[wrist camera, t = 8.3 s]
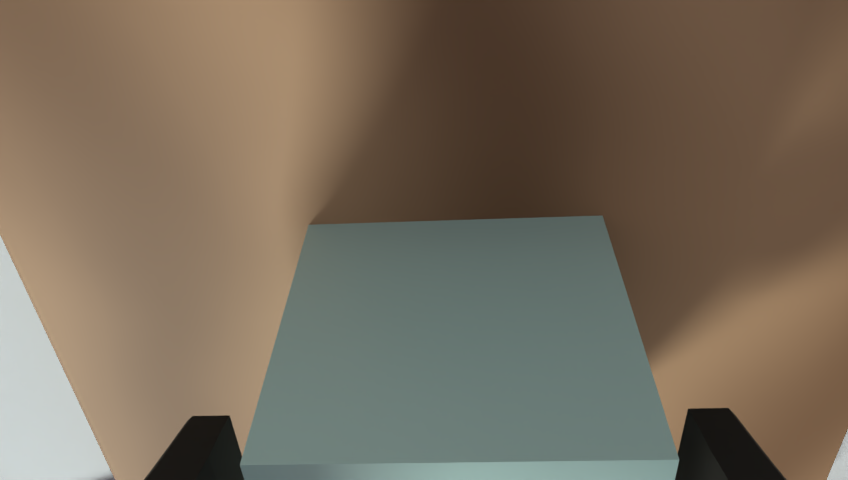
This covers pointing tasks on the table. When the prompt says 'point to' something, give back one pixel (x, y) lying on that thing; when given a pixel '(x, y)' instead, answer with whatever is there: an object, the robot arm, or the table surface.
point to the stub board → (428, 184)
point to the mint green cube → (459, 358)
